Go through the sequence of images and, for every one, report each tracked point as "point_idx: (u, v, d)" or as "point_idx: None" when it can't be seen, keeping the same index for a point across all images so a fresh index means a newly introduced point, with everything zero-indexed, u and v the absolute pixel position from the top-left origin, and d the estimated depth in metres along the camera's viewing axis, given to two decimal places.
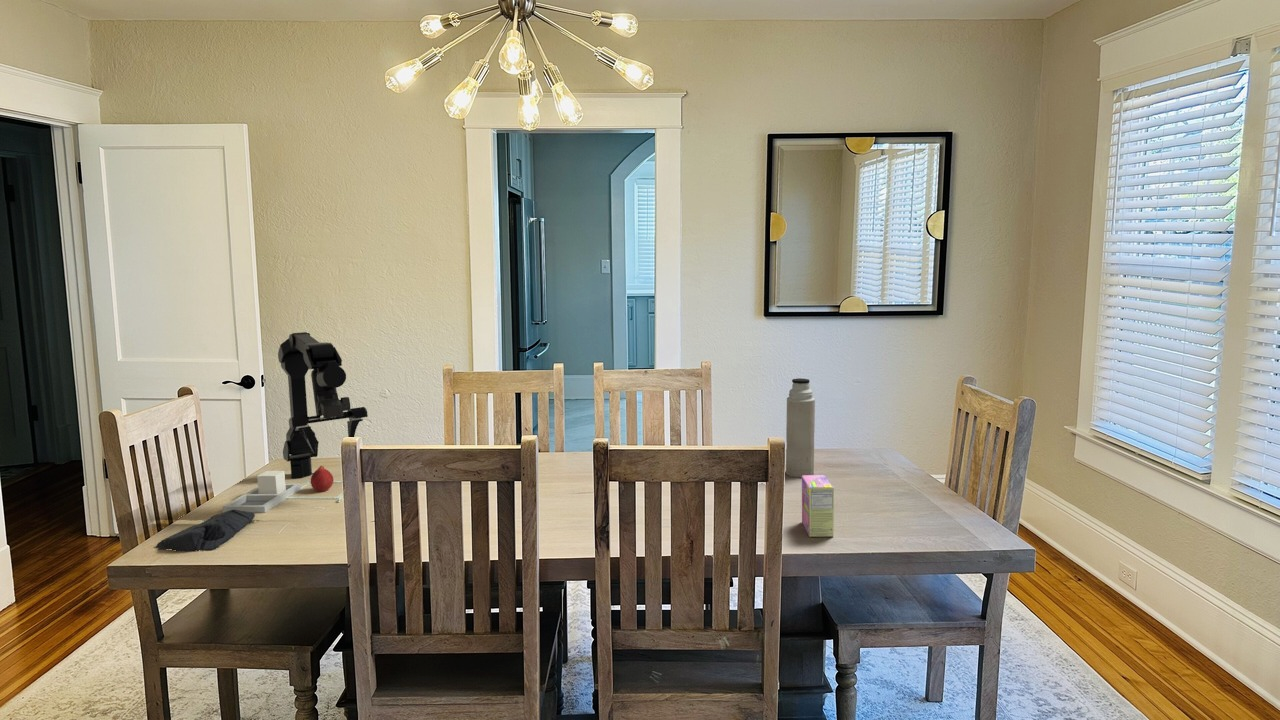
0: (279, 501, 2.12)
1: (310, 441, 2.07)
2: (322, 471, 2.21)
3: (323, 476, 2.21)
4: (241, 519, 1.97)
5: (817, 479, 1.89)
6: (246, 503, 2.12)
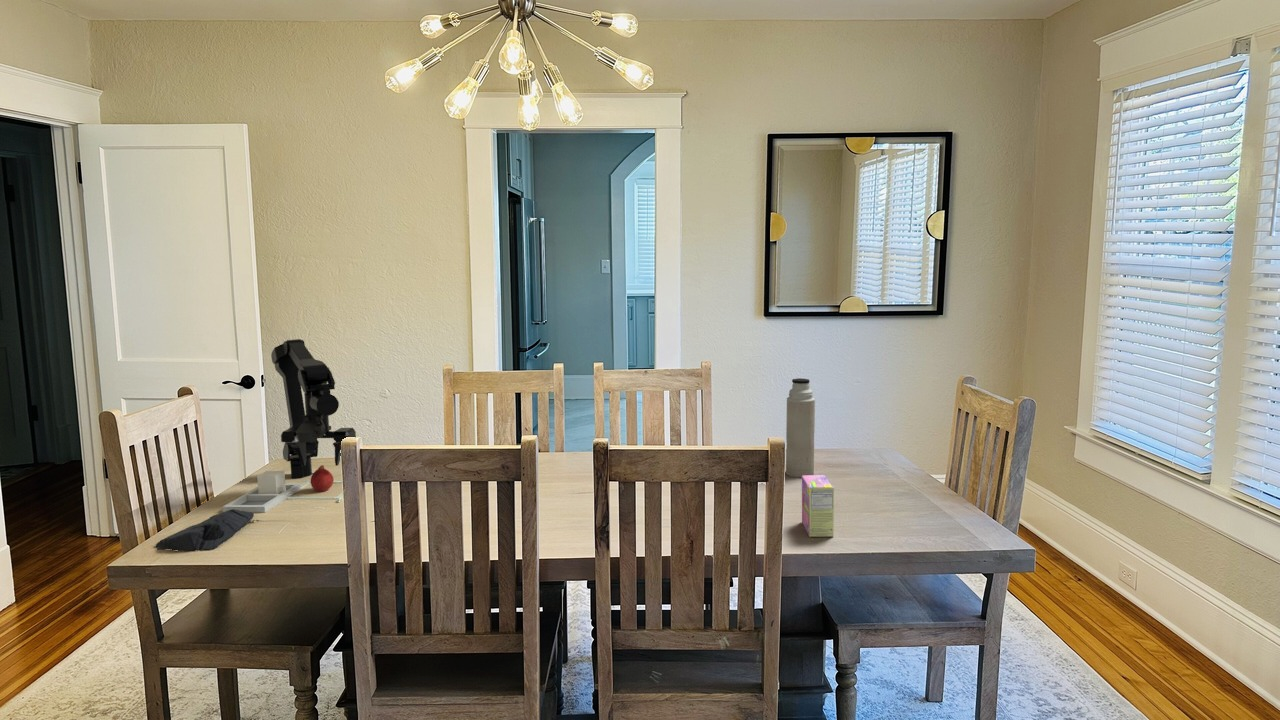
0: (279, 501, 2.12)
1: (299, 455, 2.21)
2: (322, 471, 2.21)
3: (323, 476, 2.21)
4: (240, 519, 1.97)
5: (817, 479, 1.89)
6: (246, 503, 2.12)
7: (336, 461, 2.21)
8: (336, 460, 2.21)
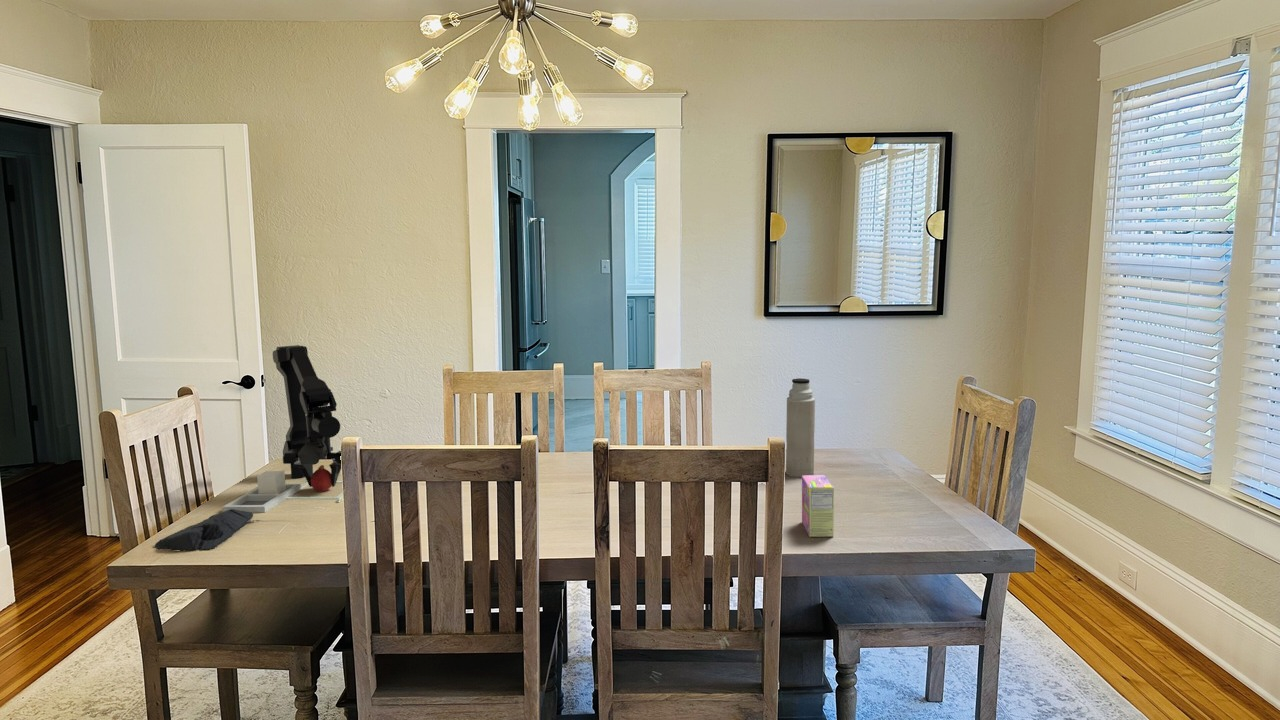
0: (279, 501, 2.12)
1: (306, 476, 2.22)
2: (322, 471, 2.21)
3: (323, 476, 2.21)
4: (240, 519, 1.97)
5: (817, 479, 1.89)
6: (246, 503, 2.12)
7: (332, 482, 2.22)
8: (332, 481, 2.22)
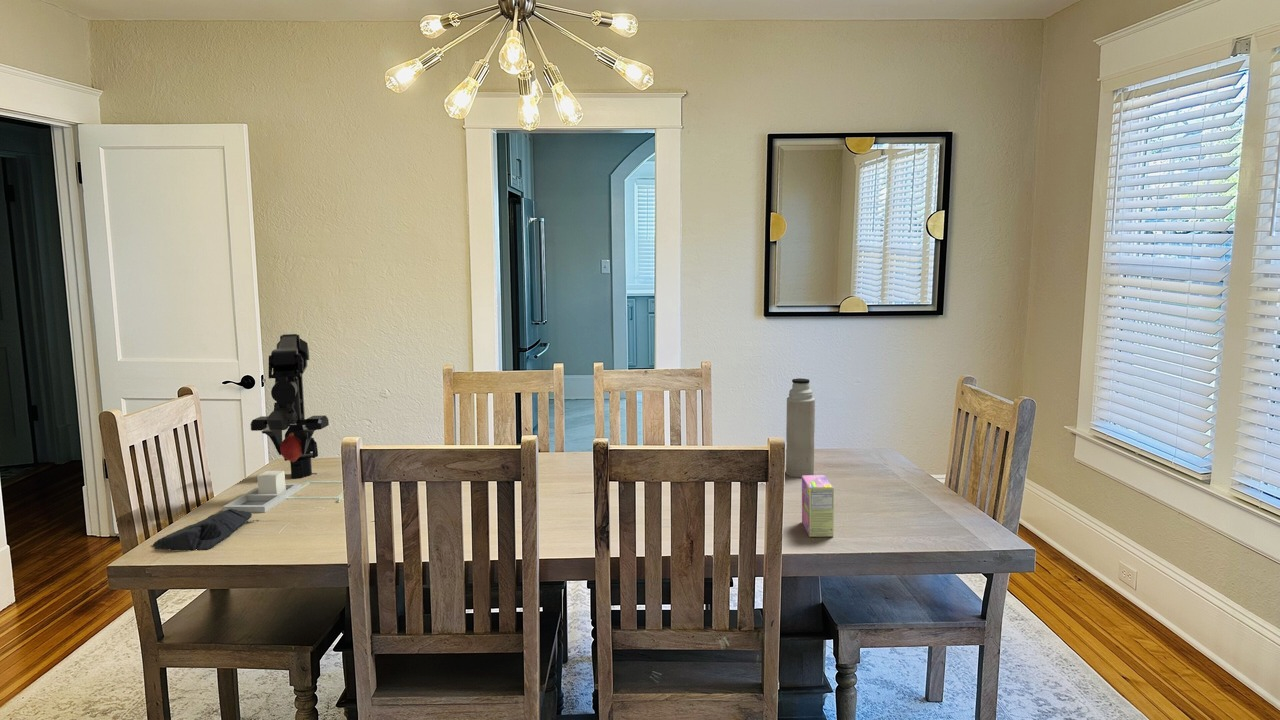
0: (279, 501, 2.12)
1: (275, 444, 2.15)
2: (292, 438, 2.14)
3: (293, 443, 2.14)
4: (238, 519, 1.97)
5: (817, 479, 1.89)
6: (246, 503, 2.12)
7: (303, 450, 2.15)
8: (303, 449, 2.15)
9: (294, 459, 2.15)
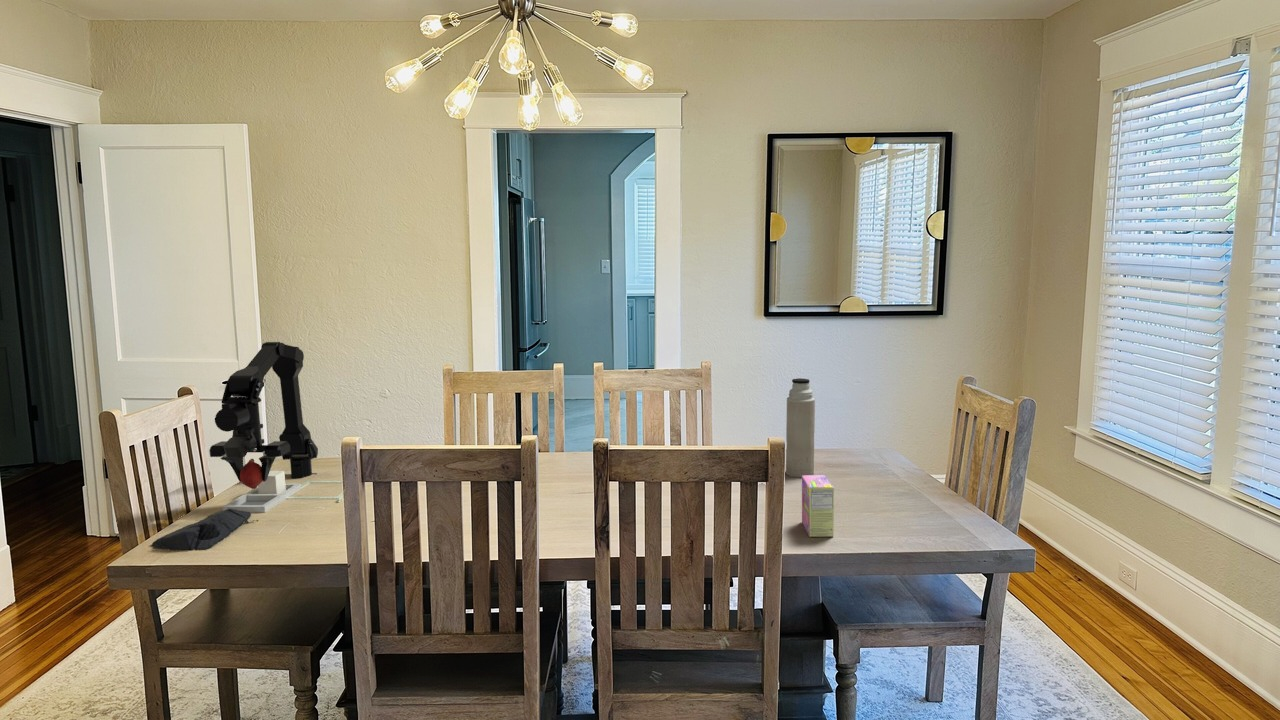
0: (279, 501, 2.12)
1: (235, 470, 2.08)
2: (251, 465, 2.08)
3: (253, 470, 2.07)
4: (237, 519, 1.97)
5: (817, 479, 1.89)
6: (246, 503, 2.12)
7: (263, 477, 2.08)
8: (263, 476, 2.08)
9: (254, 486, 2.09)
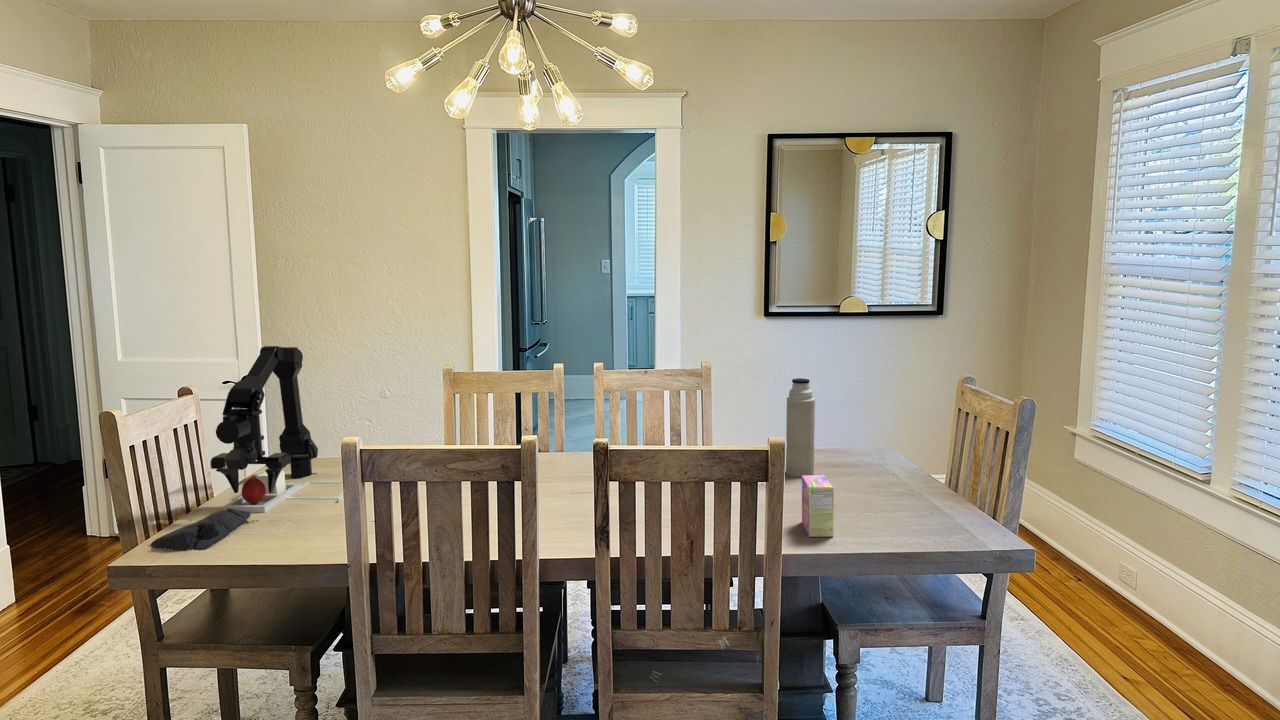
0: (279, 501, 2.12)
1: (230, 482, 2.09)
2: (253, 480, 2.09)
3: (254, 485, 2.08)
4: (236, 519, 1.97)
5: (817, 479, 1.89)
6: (246, 503, 2.12)
7: (270, 488, 2.09)
8: (269, 487, 2.09)
9: (255, 502, 2.09)
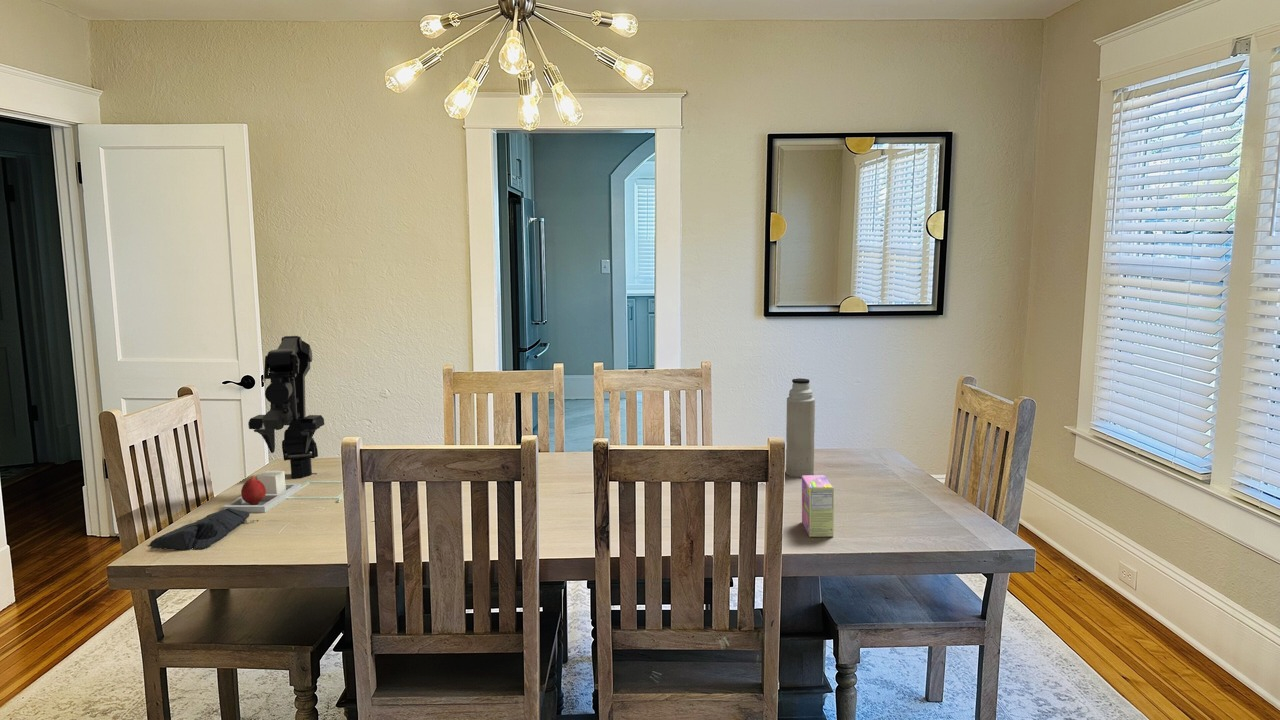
0: (279, 501, 2.12)
1: (267, 442, 2.19)
2: (253, 482, 2.08)
3: (254, 487, 2.08)
4: (235, 518, 1.97)
5: (817, 479, 1.89)
6: (246, 503, 2.12)
7: (304, 449, 2.19)
8: (304, 448, 2.19)
9: (255, 503, 2.09)
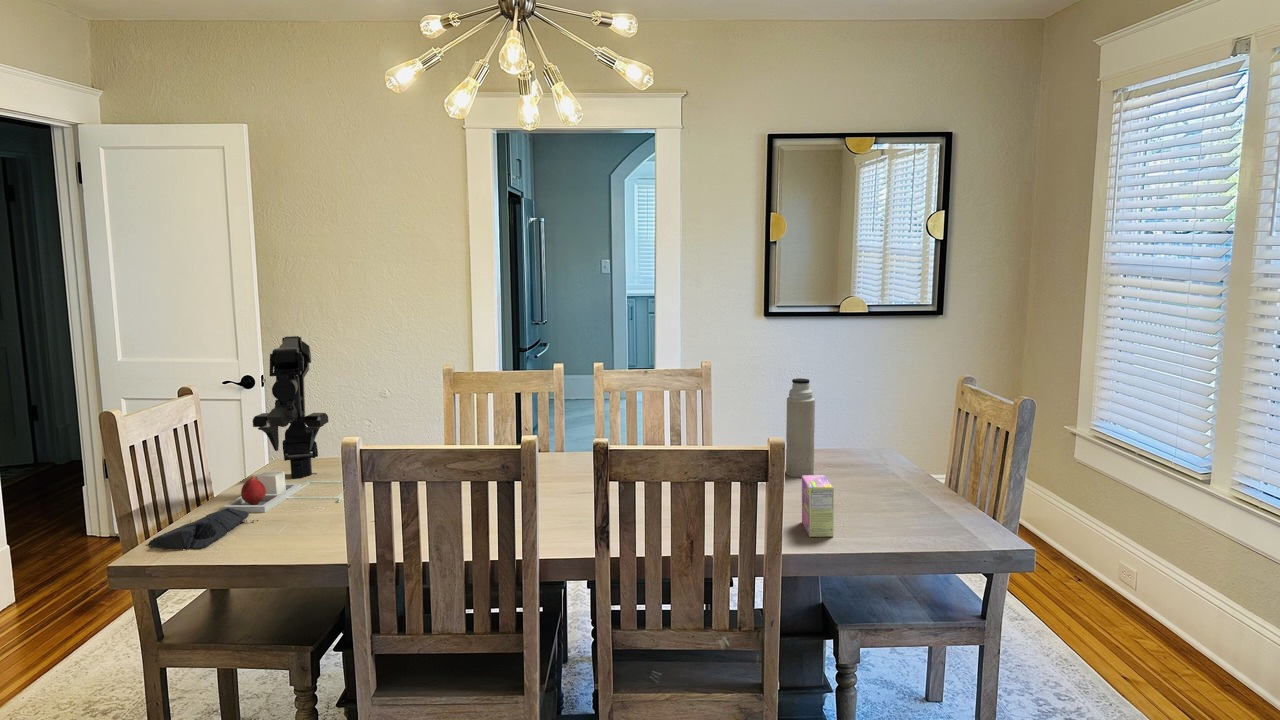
0: (279, 501, 2.12)
1: (271, 440, 2.20)
2: (253, 482, 2.08)
3: (254, 487, 2.08)
4: (234, 518, 1.97)
5: (817, 479, 1.89)
6: (246, 503, 2.12)
7: (308, 446, 2.20)
8: (308, 445, 2.20)
9: (255, 503, 2.09)
